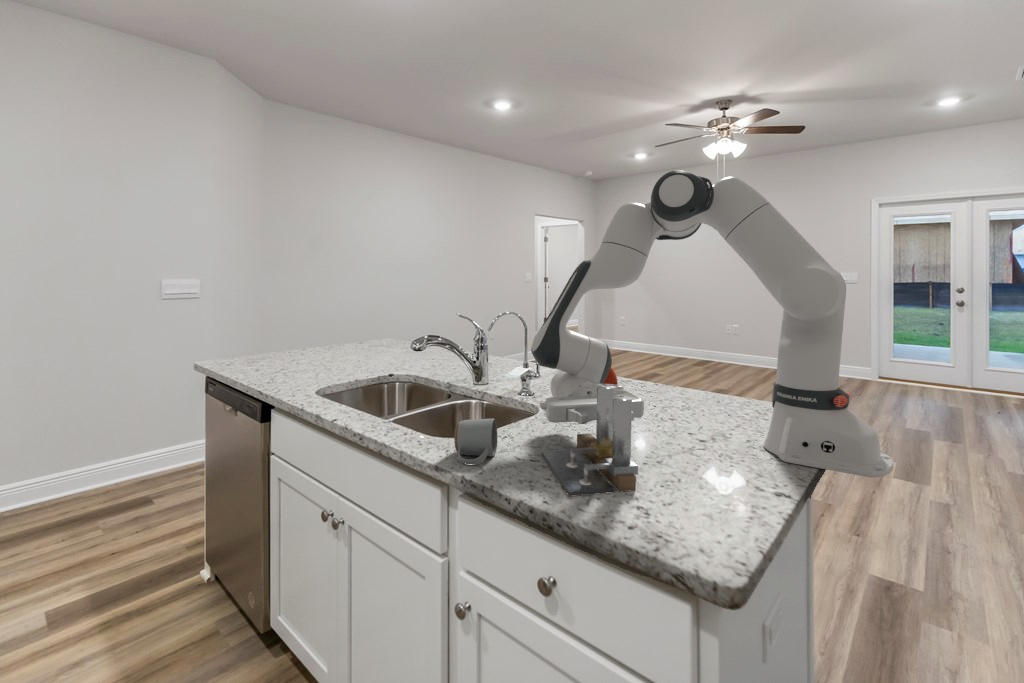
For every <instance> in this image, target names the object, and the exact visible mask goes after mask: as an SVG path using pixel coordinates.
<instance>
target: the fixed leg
mask: <svg viewBox="0 0 1024 683" xmlns="http://www.w3.org/2000/svg"><path fill="white" fill-rule="evenodd" d="M632 423H633V421H632V399H630V398H624V397H618V398H614V399H613V440H612V458H605V463H601V464H594V463H592V464H588V465H584V481H588V470H596V469H597V470H599V469H607V470H608V471H609V472H610V473H611V474H612V475H613V476H626V475H635V476H636V475H639V465H638V464H636V462H634V461H633V460H632V459H631V456H632V454H631V453H632V450H631V449H632Z"/></svg>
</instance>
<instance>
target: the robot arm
mask: <svg viewBox="0 0 1024 683" xmlns="http://www.w3.org/2000/svg"><path fill="white" fill-rule="evenodd" d="M702 224H704V225H707V226H708V227H709V226H710V227H711V228H712V229H714V230H715V231H717V232H718V233H719V235H720V236H721V237H722V238H723V240H725V242H726V243H727V244H728V245H729V246H730V247H731V248H732V249H733V250H734V252H736V254H737V255H738V256H739V257H740V258H741V259H742V260H743V261H744V262H745V264H747V266H748V267H749V268H750V269H751V270H752V271H753V272H752V273H754V274H755V276H756V277H757V278H758V280H759V281H760V282H761V284H763V286H764V287H765V288H766V290H767V291H768V292H769V294H770V295H771V296H772V297H773V298H774V299H775V301H776V302H778V304H779V305H780V307H781V308H782V309H783V313H782V319H781V330H780V333H779V334H780V335H779V342H778V348H777V349H778V350H777V362H776V363H777V364H776V379H775V380H776V381H775V382H773V388H772V393H771V394H772V395H771V403H772V409H773V410H772V415H771V420H770V424H769V428H768V431H767V435H766V437H765V440H764V441H763V447H764V448H765V450H767V451H768V452H770V453H772V454H774V455H776V456H777V457H778V458H779V459H780V460H781V461H783V462H785V463H788V464H789V463H790V464H795V465H801V466H804V467H805V466H806V467H811V468H816V469H822V470H827V471H833V472H839V473H845V474H849V475H854V476H855V475H856V476H860V477H865V478H873V479H874V478H881V477H885V476H887V475H889V474H890V473H891V472H892V471H893V469H894V460H893V458H892V457H891V456H890V455H888V454H886V453H882V452H881V442H880V439H879V435H878V433H877V431H876V430H875V429H874V428H873V427H872V426H871V425H869V424H868V423H867V422H866V421H865V420H863V419H862V418H861V417H859V415H857V414H856V413H854V412H853V411H852V410H851V409H849V405H850V395H851V393H850V392H849V391H848V392H846V391H844V390H843V389H841V388H840V387H839V378H840V369H841V368H840V367H841V356H842V354H841V353H842V343H843V330H844V320H845V309H846V297H847V296H846V295H847V285H846V281H845V279H844V278H843V276H842V275H841V273H840V272H838V271H837V270H836V269H835V268H834V267H832V265H831V264H829V262H828V261H827V260H826V259H825V258H824V257H823V256H822V255H821V254H820V253H819V252H818V251H817V250H816V249H815V248H814V247H813V246H812V245H811V243H809V242H808V241H807V240H806V239H805V237H804V236H803V235H802V234H801V233H800V232H799V231H798V230H797V229H796V228H795V227H794V226H793V225H792V224H791V223H790V222H789V221H788V220H787V219H786V218H785V217H784V216H783V214H781V213H780V212H779V210H777V208H775V206H773V204H772V203H770V201H769V200H767V198H766V197H765V196H764V195H762V194H761V193H760V192H759V191H758V190H756V189H755V188H754V187H752V186H751V185H749V184H748V183H746V182H745V181H743V180H742V179H740V178H739V177H736V176H727V177H722V178H721V179H719V180H717V181H716V182H715V183H712V181H711V180H710V179H709V178H707V177H704V176H698V175H696V174H694V173H692V172H689V171H687V170H686V171H685V170H682V169H681V170H672V171H667V173H664V174H663V175H662V176H661V177H660V178H659V179H657V181H656V182H655V184H654V186H653V188H652V190H651V195H650V202H648V203H643V204H642V203H638V202H627V203H624V204H622V205H621V206H620V207H619V208H618V209H617V210H616V211H615V214H614V215H613V217H612V219H611V221H610V223H609V225H608V226H607V228H606V231H605V233H604V236H603V238H602V240H601V243H600V246H599V248H598V250H597V251H596V253H595V254H594V255H593V256H592V257H591V258H590V259H588V260H583V261H581V262H580V263H579V264H578V266H577V267H576V268H575V270H574V271H573V272H572V274H571V276H570V277H569V279H568V280H567V283H565V286H564V287H563V289H562V291H561V293H560V295H558V296H559V297H557V298H558V299H556V302H555V304H554V305H553V307H552V309H551V310H550V313H549V314H548V315H547V317H546V319H545V320H544V322H543V324H541V327H540V328H539V329H538V331H537V333H535V336H534V338H533V340H532V344H531V349H530V350H531V354H532V356H533V358H534V359H535V361H536V363H537V364H538V365H539V366H540V367H543V368H548V369H552V370H558V372H557V373H555V374H554V375H553V377H552V378H551V381H550V393H551V395H552V397H547V398H546V399H545V401H544V402H540V403H539V408H540V409H541V410H544V411H545V417H546V419H547V421H548V422H550V423H554V424H556V423H557V424H558V423H571V422H574V423H577V424H578V425H586V424H588V423H590V422H593V421H597V387H599V386H612V387H615V398H618V397H624V398H630V399H632V422H633V421H635V418H638V419H639V418H642V417H643V416H644V413H645V402H644V401H645V400H644V399H643V398H641V396H639V395H637V394H635V393H633V392H631V391H629V390H625V389H624V386H623V385H620V384H618V385H615V384H603V383H604V382H605V380H606V378H607V376H608V374H609V372H610V368H612V364H613V361H612V360H613V358H612V354H611V350H610V348H609V346H608V344H607V342H606V341H602V340H600V339H597V338H595V337H592V336H590V335H585V334H583V333H580V332H577V331H574V330H571V329H569V328H567V324H568V322H570V318H571V317H572V315H573V313H574V311H575V310H576V308H577V306H578V305H579V302H580V301H581V299H582V297H583V296H584V295H585V294H587V293H588V292H590V291H593V290H599V289H600V290H601V289H602V290H607V289H620V288H625V287H628V286H630V285H632V284H634V283H635V282H636V281H637V280H638V279H639V278H640V276H641V275H642V272H643V270H644V268H645V266H646V264H647V260H648V257H649V255H650V252H651V249H652V246H653V244H654V242H655V240H657V241H663V240H665V241H668V240H673V241H674V240H675V241H679V240H680V241H681V240H685V239H688V238H690V237H692V236H693V235H694V234H695V233H697V231H698V230H699V229H700V227H701V226H702Z"/></svg>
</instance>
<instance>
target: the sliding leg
mask: <svg viewBox="0 0 1024 683" xmlns="http://www.w3.org/2000/svg"><path fill="white" fill-rule="evenodd" d="M614 398H615V387H612V386H599V387H597V420H596V426H595V427H596V428H595V429H596V431H595V434H596V436H595V439H596V442H591V447H589V448H579V447H577V448H570V449H571V464H575V453H583V454H584V453H589V452H594V453H595V454H596V455H597V456H598V457H599V458H600V457H612V440H613V399H614Z"/></svg>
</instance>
